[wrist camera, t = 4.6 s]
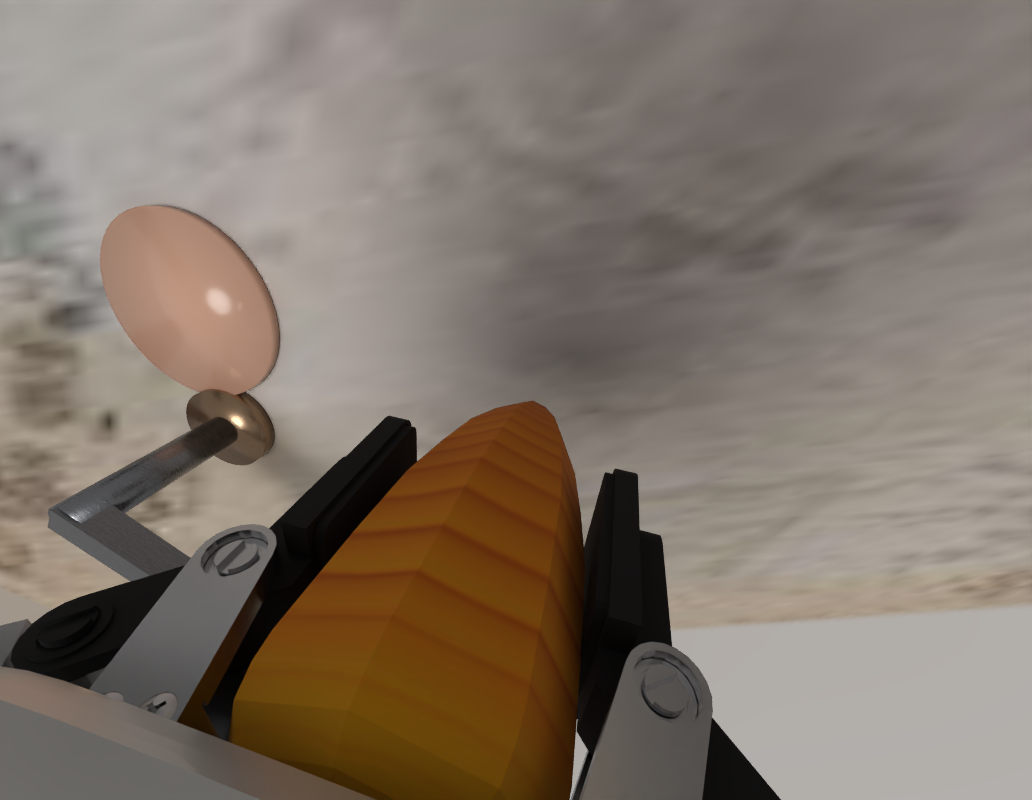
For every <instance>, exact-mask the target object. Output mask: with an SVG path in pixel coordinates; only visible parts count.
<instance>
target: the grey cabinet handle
mask: <svg viewBox="0 0 1032 800" xmlns="http://www.w3.org/2000/svg"><path fill="white" fill-rule="evenodd" d="M186 414H187V420H188V423H189V426H190V428H191V431H189V432H187V433H185V434H183V435H182V436H180V437H178V438H176V439H174V440H173V441H171V442H169V443H167V444H165V445H164V446H162V447H160V448H158V449H156V450H154V451H153V452H151V453H149V454H147V455H145V456H144V457H142V458H140V459H138V460H136V461H135V462H133V463H131V464H129V465H127V466H125V467H124V468H122V469H120V470H118V471H116V472H115V473H113V474H111V475H109V476H107V477H106V478H104V479H102V480H100V481H98V482H96V483H95V484H93V485H91V486H89V487H87V488H86V489H84V490H82V491H80V492H78V493H77V494H75V495H73V496H71V497H69V498H67V499H66V500H64V501H62V502H60V503H58V504H57V505H55V506H53V507H51V508H50V509H49V510H48V515H49V523H48V528H50V529H51V530H53V531H54V532H56V533H57V534H59V535H60V536H62V537H63V538H65V539H66V540H68V541H70V542H71V543H73V544H74V545H76V546H77V547H79V548H80V549H82V550H83V551H85V552H86V553H88V554H89V555H91V556H92V557H94V558H96V559H97V560H99V561H100V562H102V563H103V564H105V565H106V566H108V567H109V568H111V569H112V570H114V571H115V572H117V573H118V574H120V575H122V576H123V577H125V578H126V579H128V580H129V581H134V580H138V579H141V578H144V577H147V576H151V575H154V574H157V573H161V572H164V571H167V570H171V569H174V568H177V567H181V566H184V565H186V564H187V562H188V561H189V560H190V559H191V558H190V557H188V556H187V555H185V554H184V553H182V552H181V551H179V550H178V549H176V548H175V547H174V546H172V545H171V544H169V543H168V542H166V541H165V540H163V539H162V538H160V537H159V536H157V535H156V534H154V533H153V532H151V531H150V530H148V529H147V528H145V527H144V526H142V525H141V524H140V523H138V522H137V521H135V520H134V519H132V518H131V517H129V516H128V515H126V514H125V513H126V512H127V511H129V510H130V509H132V508H133V507H135V506H136V505H138V504H140V503H141V502H143V501H144V500H146V499H147V498H149V497H150V496H152V495H153V494H155V493H157V492H158V491H160V490H161V489H163V488H164V487H166V486H167V485H169V484H170V483H172V482H174V481H175V480H177V479H178V478H180V477H181V476H183V475H184V474H186V473H188V472H189V471H191V470H192V469H194V468H195V467H197V466H198V465H200V464H201V463H203V462H205V461H206V460H208V459H209V458H211V457H212V456H216V457H218V458H219V459H221V460H223V461H225V462H228V463H231V464H235V465H248V464H251V463H253V462H254V461H256V460H257V459H259V458H260V457H261V456H263V455H264V454H265V453H267V452H268V451H269V450H270V449H271V447H272V445H273V442H274V430H273V426H272V423H271V421H270V419H269V417H268V415H267V413H266V412H265V411H264V409H263V408H262V407H261V406H260V404H259V403H258V402H257V401H256V400H254V399H253V398H252V397H251V396H250V395H248V394H247V393H245V392H243V393H240V394H237V395H233V394H231V393H228V392H226V391H222V390H217V389H209V390H205V391H202V392H200V393H198V394H196V395H194V396H193V397H192V398H191V399H190V400H189V402H188V404H187V410H186Z"/></svg>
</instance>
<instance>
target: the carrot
mask: <svg viewBox="0 0 1032 800" xmlns="http://www.w3.org/2000/svg"><path fill="white" fill-rule="evenodd" d="M584 578H585V556H584V545H583V534H582V523H581V512H580V505H579V499H578V492H577V485H576V478H575V473H574V470H573V467H572V464H571V461H570V458H569V456H568V453H567V450H566V447H565V444H564V441H563V439H562V436H561V433H560V430H559V428H558V425H557V423H556V420H555V417H554V416H553V415H552V414H551V413H550V412H549V411H548V410H547V409H546V407H544V406H542V405H540V404H538V403H536V402H535V401H528V402H522V403H518V404H513V405H508V406H504V407H499V408H495V409H493V410H491V411H488V412H486V413H483V414H481V415H479V416H476V417H474V418H471V419H470V420H469V421H467V422H466V423H465V424H463V425H462V426H461V427H459V428H458V429H457V430H455V431H454V432H453V433H451V434H450V435H449V436H447V437H446V438H445V439H443V440H442V441H441V442H440V443H439V444H437V445H436V446H435V447H434V448H433V449H432V450H430V451H429V452H428V453H427V454H426V455H425V456H423V457H422V458H421V459H420V460H419V461H417V462H416V463H415V464H414V465H413V466H412V467H410V468H409V469H408V470H407V471H406V472H405V474H404V475H403V476H402V477H401V478H400V479H399V480H398V482H397V483H396V484H395V485H394V486H393V487H392V488H391V489H390V491H389V492H388V493H387V494H386V495H385V496H384V497H383V499H382V500H381V501H380V502H379V503H378V504H377V505H376V506H375V508H374V509H373V510H372V511H371V512H370V513H369V514H368V516H367V517H366V518H365V519H364V520H363V521H362V522H361V524H360V525H359V526H358V527H357V528H356V529H355V530H354V532H353V533H352V534H351V535H350V536H349V538H348V539H347V540H346V541H345V542H344V544H343V545H342V546H341V547H340V548H339V550H338V551H337V552H336V553H335V555H334V556H333V557H332V558H331V559H330V561H329V562H328V563H327V564H326V565H325V567H324V568H323V569H322V570H321V572H320V573H319V574H318V575H317V576H316V578H315V579H314V580H313V581H312V582H311V584H310V585H309V586H308V587H307V588H306V590H305V591H304V592H303V593H302V595H301V596H300V597H299V598H298V599H297V601H296V602H295V603H294V604H293V605H292V607H291V608H290V609H289V610H288V611H287V613H286V614H285V615H284V616H283V618H282V619H281V620H280V621H279V622H278V624H277V625H276V626H275V627H274V628H273V630H272V631H271V633H270V634H269V636H268V637H267V639H266V640H265V642H264V643H263V645H262V646H261V648H260V649H259V651H258V652H257V654H256V655H255V657H254V658H253V660H252V662H251V664H250V666H249V668H248V670H247V672H246V674H245V677H244V679H243V681H242V683H241V685H240V687H239V689H238V692H237V694H236V696H235V698H234V702H233V709H232V716H231V722H230V729H229V736H228V742H230V743H232V744H235V745H237V746H240V747H243V748H245V749H248V750H250V751H253V752H256V753H258V754H261V755H263V756H266V757H268V758H271V759H274V760H276V761H279V762H281V763H284V764H286V765H289V766H291V767H294V768H297V769H299V770H302V771H304V772H307V773H309V774H312V775H315V776H317V777H320V778H322V779H325V780H327V781H330V782H332V783H335V784H338V785H340V786H343V787H345V788H348V789H350V790H353V791H355V792H358V793H361V794H363V795H366V796H368V797H371V798H373V799H376V800H569V798H570V793H571V787H572V775H573V761H574V748H575V733H576V720H577V706H578V692H579V678H580V665H581V656H580V651H581V639H582V627H583V603H584Z"/></svg>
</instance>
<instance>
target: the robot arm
mask: <svg viewBox="0 0 1032 800" xmlns="http://www.w3.org/2000/svg"><path fill="white" fill-rule="evenodd" d="M416 462H417V435H416V428H415V427H411V423H410V421H409V420H405V419H401V418H397V417H392V416H387V417H386V418H385V419H384V420H383V421H382V422H381V423H380V424H379V425H378V426H377V427H376V428H375V429H374V430H373V431H372V432H371V433H370V434H369V435H368V436H366V437H365V438H364V439H363V440H362V441H361V442H360V443H359V444H358V445H357V446H356V447H355V448H354V449H353V450H352V451H351V452H350V453H349V454H348V455H347V456H346V457H343V458H342V459H340V460H339V461H338V462H337V463H336V464H335V465H334V466H333V467H332V468H331V469H330V470H329V471H328V472H327V473H326V474H325V475H324V476H323V477H322V478H321V479H320V480H318V481H317V482H316V483H315V484H314V485H313V486H312V487H311V488H310V489H309V490H308V491H307V492H306V493H305V494H304V495H303V496H302V497H301V498H300V499H299V500H298V501H297V502H296V503H295V504H294V505H293V506H292V507H291V508H290V509H289V510H288V511H287V512H286V513H285V514H284V515H283V516H281V517H280V518H279V519H278V520H277V521H276V522H275V523H274V524H273V525H272V526H271V527H270V528H269V529H268V528H267V527H265V526H261V525H255V524H251V525H240V526H236V527H233V528H229V529H227V530H225V531H222V532H220V533H218V534H216V535H215V536H213V537H212V538H210V539H209V540H207V541H206V542H205V543H204V544H203V545H202V546H201V547H200V548H199V549H198V550H197V551H196V552H195V553H194V555H193V556H192V557H191V559H190V560H189V561H188V562H187V564H186V565H184V566H181V567H177V568H174V569H171V570H167V571H164V572H161V573H157V574H154V575H151V576H147V577H144V578H141V579H138V580H134V581H131V582H128V583H124V584H121V585H118V586H114V587H111V588H108V589H104V590H101V591H98V592H95V593H91V594H88V595H85V596H81V597H79V598H76V599H74V600H71V601H68V602H66V603H64V604H62V605H60V606H58V607H56V608H55V609H53V610H51V611H49V612H47V613H46V614H45V615H43V616H42V617H41V618H39V619H38V620H37V621H35V622H34V623H33V624H31V623H30V621H29V620H28V619H26V620H22V621H18V622H13V623H9V624H5V625H2V626H0V800H376V799H373V798H371V797H368V796H366V795H363V794H361V793H358V792H355V791H353V790H350V789H348V788H345V787H343V786H340V785H338V784H335V783H332V782H330V781H327V780H325V779H322V778H320V777H317V776H315V775H312V774H309V773H307V772H304V771H302V770H299V769H297V768H294V767H291V766H289V765H286V764H284V763H281V762H279V761H276V760H274V759H271V758H268V757H266V756H263V755H261V754H258V753H256V752H253V751H250V750H248V749H245V748H243V747H240V746H237V745H235V744H232V743H230V742H228V736H229V729H230V722H231V716H232V709H233V702H234V698H235V696H236V694H237V692H238V689H239V687H240V685H241V683H242V681H243V679H244V677H245V674H246V672H247V670H248V668H249V666H250V664H251V662H252V660H253V658H254V657H255V655H256V654H257V652H258V651H259V649H260V648H261V646H262V645H263V643H264V642H265V640H266V639H267V637H268V636H269V634H270V633H271V631H272V630H273V628H274V627H275V626H276V625H277V624H278V622H279V621H280V620H281V619H282V618H283V616H284V615H285V614H286V613H287V611H288V610H289V609H290V608H291V607H292V605H293V604H294V603H295V602H296V601H297V599H298V598H299V597H300V596H301V595H302V593H303V592H304V591H305V590H306V588H307V587H308V586H309V585H310V584H311V582H312V581H313V580H314V579H315V578H316V576H317V575H318V574H319V573H320V572H321V570H322V569H323V568H324V567H325V565H326V564H327V563H328V562H329V561H330V559H331V558H332V557H333V556H334V555H335V553H336V552H337V551H338V550H339V548H340V547H341V546H342V545H343V544H344V542H345V541H346V540H347V539H348V538H349V536H350V535H351V534H352V533H353V532H354V530H355V529H356V528H357V527H358V526H359V525H360V524H361V522H362V521H363V520H364V519H365V518H366V517H367V516H368V514H369V513H370V512H371V511H372V510H373V509H374V508H375V506H376V505H377V504H378V503H379V502H380V501H381V500H382V499H383V497H384V496H385V495H386V494H387V493H388V492H389V491H390V489H391V488H392V487H393V486H394V485H395V484H396V483H397V482H398V480H399V479H400V478H401V477H402V476H403V475H404V474H405V472H406V471H407V470H408V469H409V468H410V467H412V466H413V465H414V464H415V463H416ZM584 556H585V578H584V603H583V627H582V639H581V651H580V656H581V665H580V678H579V692H578V706H577V719H578V722H577V732H578V734H579V736H580V737H581V739H582V741H583V743H584V744H585V746H586V748H587V749H588V750H587V753H586V756H585V759H584V762H583V765H582V768H581V771H580V774H579V777H578V780H577V783H576V786H575V789H574V791H573V794H572V798H571V800H781V799H780V798H779V797H778V796H777V795H776V793H775V792H774V791H773V790H772V789H771V787H770V786H769V785H768V784H767V783H766V781H765V780H764V779H763V778H762V777H761V775H760V774H759V773H758V772H757V771H756V769H755V768H754V767H753V766H752V765H751V763H750V762H749V761H748V760H747V759H746V757H745V756H744V755H743V754H742V753H741V752H740V750H739V749H738V748H737V747H736V746H735V744H734V743H733V742H732V741H731V740H730V738H729V737H728V736H727V735H726V734H725V733H724V731H723V730H722V729H721V728H720V726H719V725H718V724H717V723H716V722H715V720H714V719H713V718H712V712H713V710H712V696H711V693H710V690H709V687H708V684H707V681H706V680H705V678H704V677H703V675H702V673H701V672H700V670H699V668H698V667H697V666H696V665H695V664H694V663H693V662H692V661H691V660H690V659H689V657H687V656H686V655H685V654H683V653H682V652H680V651H679V650H678V649H676V648H674V647H672V642H671V630H670V619H669V608H668V597H667V586H666V575H665V564H664V554H663V543H662V538H661V536H660V535H657V534H653V533H649V532H645V531H641V530H639V496H638V475H637V474H636V473H632V472H627V471H623V470H619V469H614V472H613V474H610V473H606V472H605V474H604V477H603V481H602V485H601V488H600V492H599V495H598V499H597V503H596V506H595V510H594V513H593V517H592V521H591V524H590V528H589V531H588V535H587V539H586V542H585V546H584Z"/></svg>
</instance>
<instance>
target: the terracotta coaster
mask: <svg viewBox="0 0 1032 800" xmlns="http://www.w3.org/2000/svg"><path fill="white" fill-rule="evenodd" d="M100 266H101V274H102V280H103V284H104V288H105V291H106V295H107V297H108V300H109V302H110V305H111V307H112V309H113V311H114V313H115V315H116V317H117V319H118V321H119V322H120V324H121V326H122V327H123V329H124V331H125V332H126V333H127V335H128V336H129V338H130V339H131V340H132V342H133V343H134V344H135V345H136V347H137V348H138V349H139V350H140V351H141V352H142V353H143V354H144V355H145V356H146V357H147V359H148V360H149V361H151V362H152V363H153V364H154V365H155V366H156V367H157V368H158V369H160V370H161V371H162V372H164V373H165V374H166V375H168V376H169V377H171V378H172V379H174V380H175V381H177V382H179V383H180V384H182V385H184V386H186V387H188V388H191V389H193V390H195V391H198V392H202V391H205V390H209V389H217V390H222V391H226V392H228V393H231V394H233V395H237V394H240V393H243V392H245V391H247V390H249V389H251V388H253V387H255V386H256V385H258V384H260V383H261V382H262V381H263V380H265V378H266V377H267V376H268V375H269V374H270V372H271V370H272V369H273V367H274V365H275V362H276V359H277V356H278V350H279V327H278V321H277V316H276V311H275V308H274V305H273V302H272V299H271V297H270V295H269V292H268V290H267V288H266V286H265V284H264V282H263V280H262V278H261V277H260V275H259V273H258V272H257V270H256V269H255V267H254V266H253V264H252V263H251V261H250V260H249V259H248V258H247V256H246V255H245V254H244V253H243V252H242V250H241V249H240V248H239V247H238V246H237V245H236V244H235V243H234V242H233V241H232V240H231V239H230V238H229V237H228V236H227V235H225V234H224V233H223V232H222V231H221V230H219V229H218V228H217V227H215V226H214V225H212V224H211V223H209V222H208V221H206V220H205V219H203V218H201V217H199V216H197V215H195V214H193V213H190V212H188V211H185V210H183V209H179V208H175V207H170V206H142V207H135V208H132V209H129V210H126V211H125V212H123V213H121V214H119V215H118V216H117V217H116V218H115V219H114V220H113V221H112V222H111V224H110V225H109V227H108V228H107V230H106V232H105V235H104V237H103V240H102V245H101V252H100Z"/></svg>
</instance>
